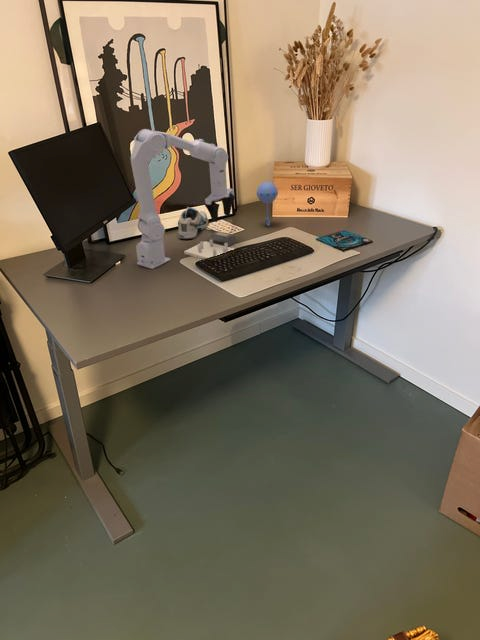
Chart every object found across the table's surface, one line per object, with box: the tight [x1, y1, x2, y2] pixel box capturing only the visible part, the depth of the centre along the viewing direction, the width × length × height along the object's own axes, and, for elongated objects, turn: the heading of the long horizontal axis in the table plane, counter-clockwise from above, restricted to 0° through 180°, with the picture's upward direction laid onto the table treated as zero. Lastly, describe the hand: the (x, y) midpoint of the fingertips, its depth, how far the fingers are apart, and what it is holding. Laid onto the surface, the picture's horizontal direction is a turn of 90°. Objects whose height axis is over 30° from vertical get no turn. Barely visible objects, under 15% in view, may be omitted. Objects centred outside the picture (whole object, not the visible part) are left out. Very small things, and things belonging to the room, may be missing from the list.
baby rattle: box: [256, 181, 279, 227], centre depth 198 cm, size 9×9×18 cm
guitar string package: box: [315, 229, 374, 253], centre depth 184 cm, size 15×1×15 cm
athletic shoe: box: [177, 206, 209, 240], centre depth 198 cm, size 10×23×12 cm, turn 173°
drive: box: [210, 230, 235, 248], centre depth 185 cm, size 8×4×4 cm, turn 56°
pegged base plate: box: [183, 238, 235, 259], centre depth 178 cm, size 12×16×4 cm
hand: (221, 218), depth 181 cm, fingers open, 7 cm apart
